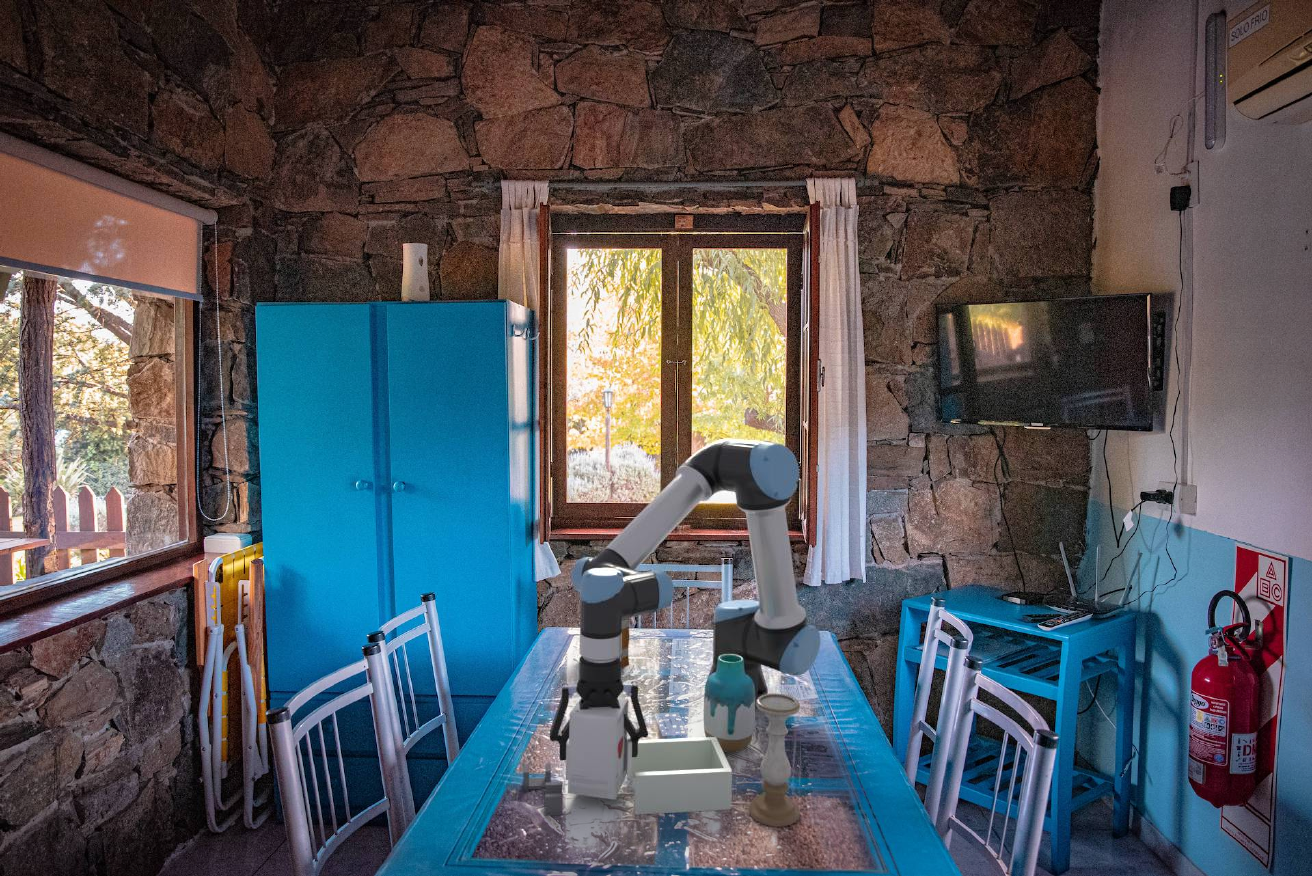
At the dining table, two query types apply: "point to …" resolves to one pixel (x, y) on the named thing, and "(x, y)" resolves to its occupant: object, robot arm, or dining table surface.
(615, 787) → the supplement box
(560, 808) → the clip
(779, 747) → the candle holder
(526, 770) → the clip
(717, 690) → the vase
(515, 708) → the dining table surface
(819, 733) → the dining table surface
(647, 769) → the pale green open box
